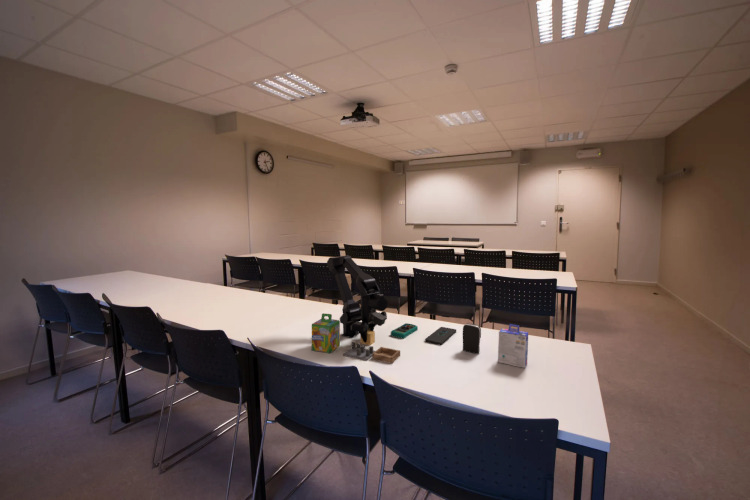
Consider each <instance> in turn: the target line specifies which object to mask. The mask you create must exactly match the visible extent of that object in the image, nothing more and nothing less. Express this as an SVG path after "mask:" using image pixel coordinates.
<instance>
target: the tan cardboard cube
mask: <svg viewBox="0 0 750 500" xmlns="http://www.w3.org/2000/svg"><path fill="white" fill-rule="evenodd" d="M375 333H376V332H375V331H370V330H369V331H368V334H367V342H364V341H363V339H362V337H361V335H360V334H359V335H360V336H359V337H360V344H361V345H367V346H372V345H373V344H374V343H375V341H376V340H375V338H376V337H375V335H376V334H375Z"/></svg>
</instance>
